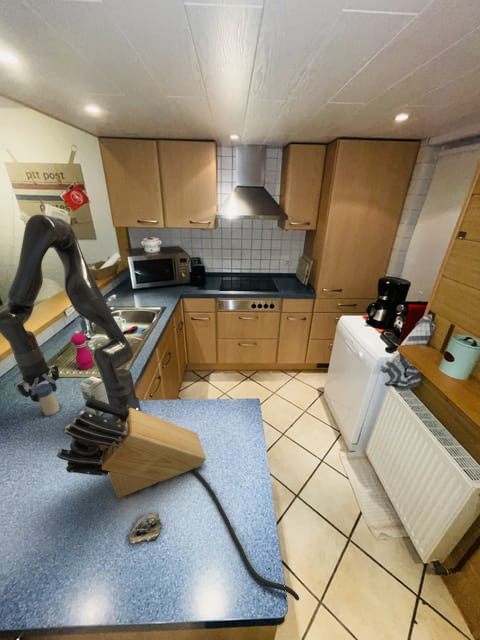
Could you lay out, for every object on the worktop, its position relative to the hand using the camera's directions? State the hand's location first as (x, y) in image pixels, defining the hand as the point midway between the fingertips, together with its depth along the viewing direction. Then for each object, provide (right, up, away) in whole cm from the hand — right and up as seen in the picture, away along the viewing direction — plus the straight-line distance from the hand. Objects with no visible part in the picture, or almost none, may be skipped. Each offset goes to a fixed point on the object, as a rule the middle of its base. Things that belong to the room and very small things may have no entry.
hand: (45, 395), depth 96 cm
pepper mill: (-3, +6, +31) cm, 31 cm away
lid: (0, +3, -1) cm, 3 cm away
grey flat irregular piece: (+51, -25, -32) cm, 65 cm away
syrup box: (+19, -7, +4) cm, 20 cm away
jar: (0, -7, +3) cm, 8 cm away
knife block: (+46, -18, -18) cm, 53 cm away
